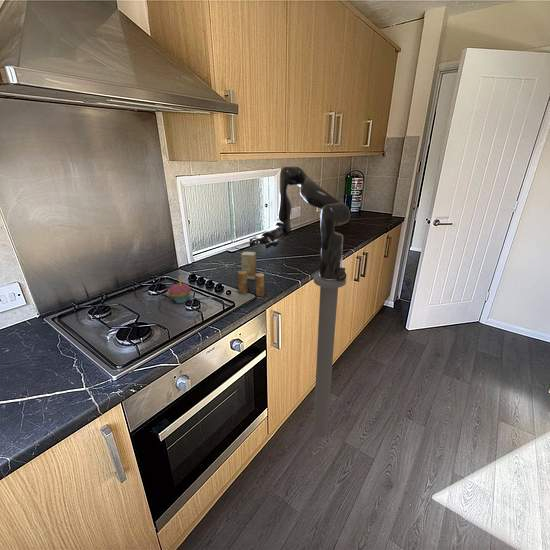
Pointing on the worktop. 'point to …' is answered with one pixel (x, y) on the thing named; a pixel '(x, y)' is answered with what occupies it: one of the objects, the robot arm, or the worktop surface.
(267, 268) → the worktop surface
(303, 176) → the robot arm
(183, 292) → the cupcake
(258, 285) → the oak pegs
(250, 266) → the cosmetic box
